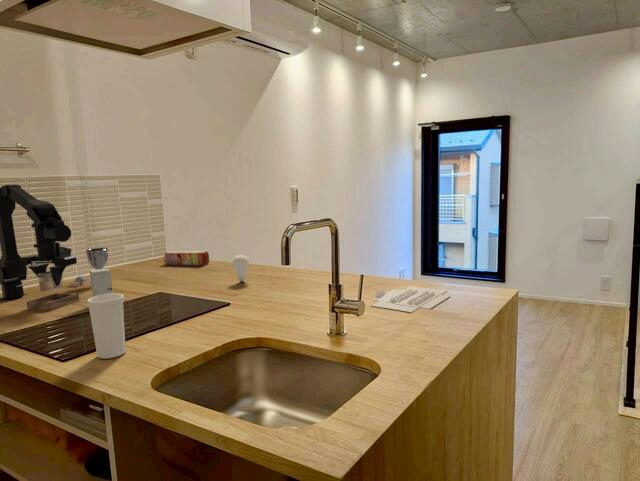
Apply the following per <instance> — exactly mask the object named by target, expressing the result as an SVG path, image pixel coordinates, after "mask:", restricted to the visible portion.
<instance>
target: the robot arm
mask: <svg viewBox="0 0 640 481" xmlns="http://www.w3.org/2000/svg"><path fill="white" fill-rule="evenodd" d="M16 204H17V205H19V206H20V207H21V208H23V209H24V210H25V211H26V216H27V217H28V218H29V219H30V220H31V221H32V222H33V223H32V224H30V226H31V228H34V236H35V244H33V248H34V249H35V248H36V250H37V254H33V255H32V254H31V255H26V256H20V254H19V252H18V246H17V241H16V240H17V239H16V233H15V228H14V227H15V226H14V223H13V213H14V211H15V210H16V208H17V207H16V206H17V205H16ZM71 236H72V230H71V228H70V227H69V226H68V225H66V224H65V221H64V220H63V219H62V216H61V215H60V213H59V211H58V210H57V208H56V207H55V205H54V204H53V203H51V202H49V201H46V200H39V199H37V198H36V197H35V196H33V195H32V194H30V193H29V192H27V191H26V190H25V189H23V188H22V186H21V185H19V184H4V185H2V186H1V187H0V251H1V257H0V286H1V293H2V296H1V297H0V300H3V301H5V300H8V301H13V300H17V299H20V298H22V297H25V296H27V295H28V294H27V293H26V294H25V293H24V285H23V283H22V282H23V281H25V280H27V277H28V276H27V275H28V269H30V270H31V271H32V273H34V275H35V276H36V277H37V278H38V274H40V273H44V272H47V270H48V269H47V268H48V267H49V264H53V266H51V267H49V271H51V274H52V277H53V279H54V282H55V284H56V286H58V285H60V281H61V277H63V273H64V271H65V269H66V268H68V267H69V266H72V265H75V264H76V265H77V263H78V260H77V257H76V256H75V255H72V248H68V247H65V246H61V244H60V243H61V242H62V243H63V242H67V241H68V240H70V238H71Z"/></svg>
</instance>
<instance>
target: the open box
mask: <svg viewBox="0 0 640 481" xmlns="http://www.w3.org/2000/svg"><path fill="white" fill-rule="evenodd" d="M79 295H80V294H79V293H72V292H71V293H70V292H54V293H51V294H48V295H47V294H46V295H45V296H41V297H38V298H36V299H35V298H34V299H31V300H29V301H26V309H27V310H31V311H48V312H49V311H50V312H51V311H55V310H58V309H60V308H63V307H65V306H69V305H72V304H73V303H77V302H79V301H78V300H80V296H79Z"/></svg>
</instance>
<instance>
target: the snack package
mask: <svg viewBox="0 0 640 481" xmlns="http://www.w3.org/2000/svg"><path fill="white" fill-rule="evenodd" d="M163 257H164V260H163V261H164V264H165V266H169V265H170V266H172V265H173V266H174V265H175V266H199V267H204V266H207V265H208V264H209V263H210V255H209V251H207V250H177V251H176V250H174V251H172V250H168V251H167V252H165V253H164V255H163Z"/></svg>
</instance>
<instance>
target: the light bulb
mask: <svg viewBox="0 0 640 481" xmlns="http://www.w3.org/2000/svg"><path fill="white" fill-rule="evenodd" d="M232 267H233V269H234V270H235V272H236V275H237V278H238V282H240V283H244V282H245V281H246V279H247V278H246V275H247V271H248V269H249V267H250V259H249V258H248V257H247V256H246V255H244V254H243V255H242V254H238V255H236V256H235V257H234V258H233V259H232Z"/></svg>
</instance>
